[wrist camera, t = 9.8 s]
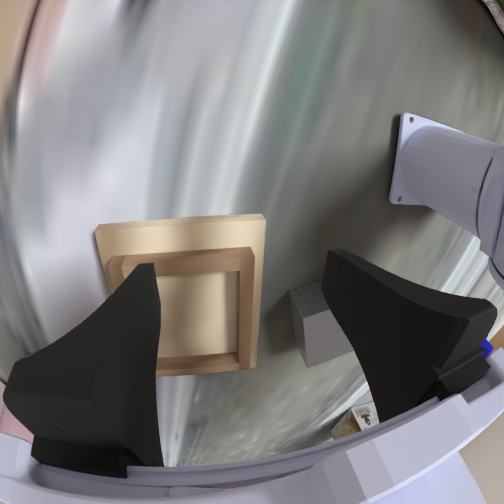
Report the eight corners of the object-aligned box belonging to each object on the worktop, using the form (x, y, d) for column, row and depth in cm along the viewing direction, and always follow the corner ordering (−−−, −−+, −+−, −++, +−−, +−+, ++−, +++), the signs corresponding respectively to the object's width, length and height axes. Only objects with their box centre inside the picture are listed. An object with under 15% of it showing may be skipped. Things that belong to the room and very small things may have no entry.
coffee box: (354, 423, 46) (384, 484, 33) (328, 430, 45) (357, 496, 31) (376, 399, 42) (413, 466, 29) (349, 407, 41) (385, 481, 27)
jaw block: (338, 272, 25) (359, 298, 22) (337, 324, 29) (354, 350, 25) (287, 288, 25) (302, 318, 21) (294, 339, 28) (307, 368, 25)
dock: (261, 213, 20) (271, 228, 18) (253, 359, 28) (259, 379, 26) (99, 224, 18) (88, 241, 16) (140, 368, 26) (139, 388, 23)
